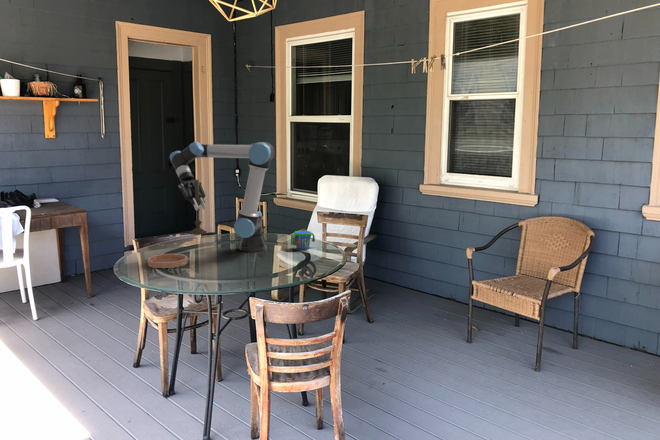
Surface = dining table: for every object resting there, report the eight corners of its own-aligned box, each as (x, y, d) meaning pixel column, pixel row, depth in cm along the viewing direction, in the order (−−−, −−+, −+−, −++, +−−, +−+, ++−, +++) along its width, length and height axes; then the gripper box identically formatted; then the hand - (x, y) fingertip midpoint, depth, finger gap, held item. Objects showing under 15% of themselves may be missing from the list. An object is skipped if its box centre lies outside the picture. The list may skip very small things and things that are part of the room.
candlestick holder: (202, 235, 283) (200, 179, 277) (186, 234, 285) (184, 179, 279) (209, 232, 292) (208, 178, 286) (194, 231, 293) (192, 177, 288)
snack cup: (311, 245, 325) (311, 229, 323) (318, 249, 316) (318, 232, 314) (287, 248, 318) (287, 231, 317) (294, 251, 309) (294, 234, 307)
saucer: (188, 258, 291) (188, 253, 290) (186, 267, 271) (185, 262, 271) (150, 259, 287) (150, 254, 286) (145, 269, 267) (145, 263, 267)
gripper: (196, 178, 300) (212, 211, 291) (168, 180, 288) (184, 214, 280) (201, 170, 295) (217, 202, 286) (173, 171, 284) (189, 205, 275)
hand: (201, 208), depth 283 cm, fingers closed on candlestick holder, 4 cm apart
